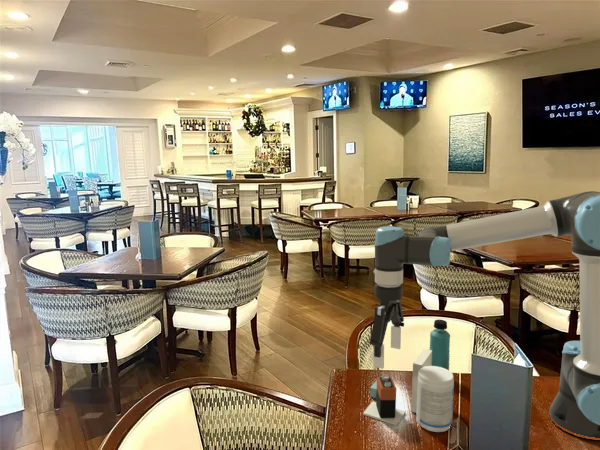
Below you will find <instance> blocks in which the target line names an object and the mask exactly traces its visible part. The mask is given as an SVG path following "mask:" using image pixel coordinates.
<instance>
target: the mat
mask: <svg viewBox="0 0 600 450" xmlns="http://www.w3.org/2000/svg"><path fill="white" fill-rule="evenodd" d="M362 415H363V416H366V417H368V418H371V419H375V420H379V421H381V422H384V423H387V424H389V425H393V426H397V427H398V425H399V423H400V422H401V421H402V419H403V417H404V416H405V415H406V411H405V410H402V409H399V408H396V411H395V418H380V416H379V412H378V409H377V406H376V401H374V400H372V401H371V403H370V404H369V405H368V406H367V407H366V408H365V410H364V411H363V413H362Z"/></svg>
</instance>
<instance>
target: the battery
mask: <svg viewBox="0 0 600 450" xmlns="http://www.w3.org/2000/svg"><path fill="white" fill-rule="evenodd" d="M376 380H377V391H376V398H375V399H376V400H375V402H376V406H377V409H378V412H379V416H380V418H395V411H396V409H397V407H396V405H397V387H396V384H395V383H394V380H393V378H392V377H391V376H389V375H388V374H382V376H377V377H376Z"/></svg>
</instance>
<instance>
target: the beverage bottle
mask: <svg viewBox="0 0 600 450" xmlns="http://www.w3.org/2000/svg"><path fill="white" fill-rule="evenodd" d="M433 328H434V329H433V330H431V331H430V333H429V336H430V337H429V350H432V365H431V366H437V367H442V368H445V369H447V370H449V371H450V355H451V354H450V347H451V340H450V339H451V334H450V332H448V331H447V329H448V322H447V320H444V319H435V320H434V322H433Z"/></svg>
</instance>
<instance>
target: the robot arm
mask: <svg viewBox="0 0 600 450" xmlns="http://www.w3.org/2000/svg"><path fill="white" fill-rule="evenodd" d="M545 235H552V236H554V237H555V238H556V237H562V236H571V253H572V254H573V255H574V256H575V257H576V258H578V261H579V333H580V334H579V335H580V336H579V338H580V339H579V340H569V341H566V342H565V343H564V345H563V349H562V351H561V353H562V355H561V356H562V357H561V368H560V376H559V386H558V387H559V388H558V391H557V393H556V396H555V397H554V399H553V401H552V403H551V405H550V406H549V413H548V415H549V414H550V417H551V418H552V419H553V420H554V421H555V422H556V423H557V424H558V425H560V426H561V427H563V428H565V429H567V430H569V431H571V432H573V433H576V434H580V435H584V436H588V437H595V438H600V191H593V190H591V191H583V192H579V193H576V194H571V195H568V196H565V197H560V198H556V199H552V200H547V201H546V202H545V203H544V204H543V205H540V206H537V207H531V208H526V209H521V210H516V211H512V212H510V211H509V212H506V213H500V214H497V215H491V216H486V217H480V218H476V219H471V220H465V221H460V222H455V223H450V224H446V225H441V226H428V227H425V228H423V229H421V231H420V232H419V233H418V234H417V235H408V234H407V235H406V234H405V231H404V229H403V228H402V227H400V226H392V225H391V226H389V225H388V226H387V225H386V226H380V227H378V228H377V229H376V231H375V237H374V238H375V239H374V269H373V273H374V283H375V284H374V298H376V299H377V300H379V302H380V303H379V305H378V306H375V308H374V317H373V323H372V330H371V334H370V339H369V345H372V347H373V348H372V349H373V352H372V353H373V354H372V355H373V356H372V360H373V361H372V362H373V363H372V365H373V368H378V369H384V368H385V344H384V340H385V335H386V333H387V332H386V331H387V328H388V324H389V323H390V322H391V324H392V325H391V326H390V348H391V349H397V350H401V343H402V341H401V340H402V338H401V337H402V327H405V322H404V321H405V319H404V313H403V307H402V302H401V299H403V295H404V294H403V293H404V291H403V290H404V288H403V287H404V286H403V285H402V284H403V283H404V264H406V265H421V266H432V267H447V266H449V265H450V263H451V252H454V251H459V250H464V249H465V250H466V249H470V248H471V249H472V248H476V247H483V246H489V245H494V244H500V243H503V242H505V243H506V242H511V241H515V240H516V241H517V240H523V239H527V238H528V239H529V238H533V237H538V236H545Z"/></svg>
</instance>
